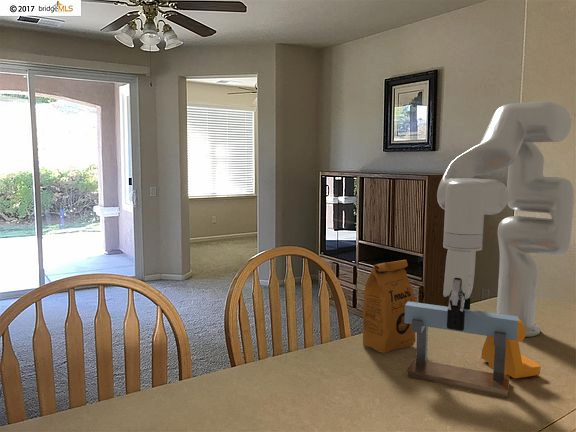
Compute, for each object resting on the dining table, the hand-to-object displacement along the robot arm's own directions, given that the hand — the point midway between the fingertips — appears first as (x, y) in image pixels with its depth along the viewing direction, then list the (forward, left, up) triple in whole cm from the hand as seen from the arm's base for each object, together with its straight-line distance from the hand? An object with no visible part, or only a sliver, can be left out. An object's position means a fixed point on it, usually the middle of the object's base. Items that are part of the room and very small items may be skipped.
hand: (458, 322), depth 100 cm
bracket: (-13, +10, -14) cm, 22 cm away
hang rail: (0, 0, -2) cm, 2 cm away
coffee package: (-14, -18, -14) cm, 26 cm away
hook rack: (-1, 0, -14) cm, 14 cm away
